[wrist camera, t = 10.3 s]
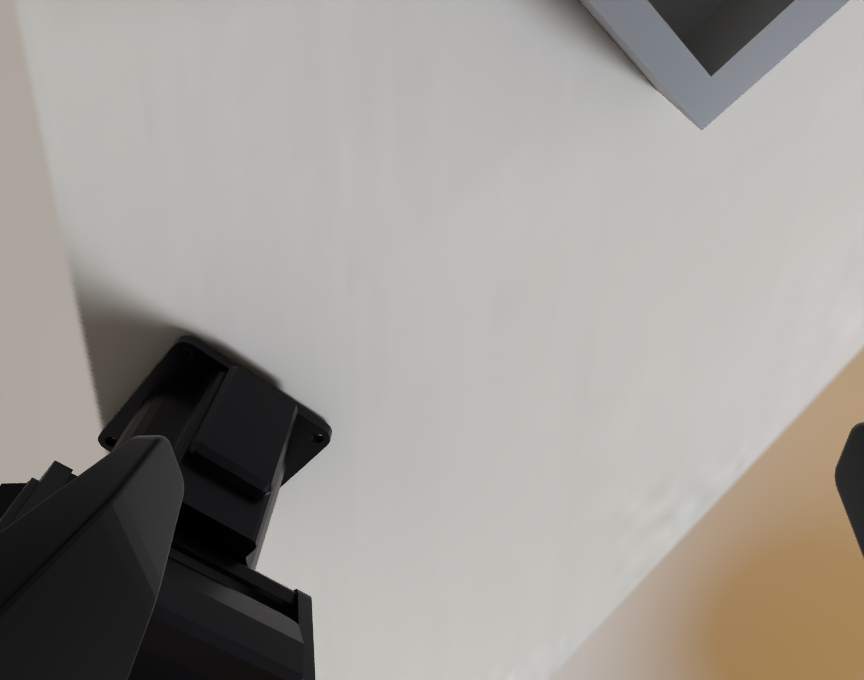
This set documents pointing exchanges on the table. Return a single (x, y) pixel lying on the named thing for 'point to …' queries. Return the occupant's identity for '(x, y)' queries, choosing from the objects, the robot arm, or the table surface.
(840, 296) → the table surface
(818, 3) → the tray
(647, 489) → the table surface
